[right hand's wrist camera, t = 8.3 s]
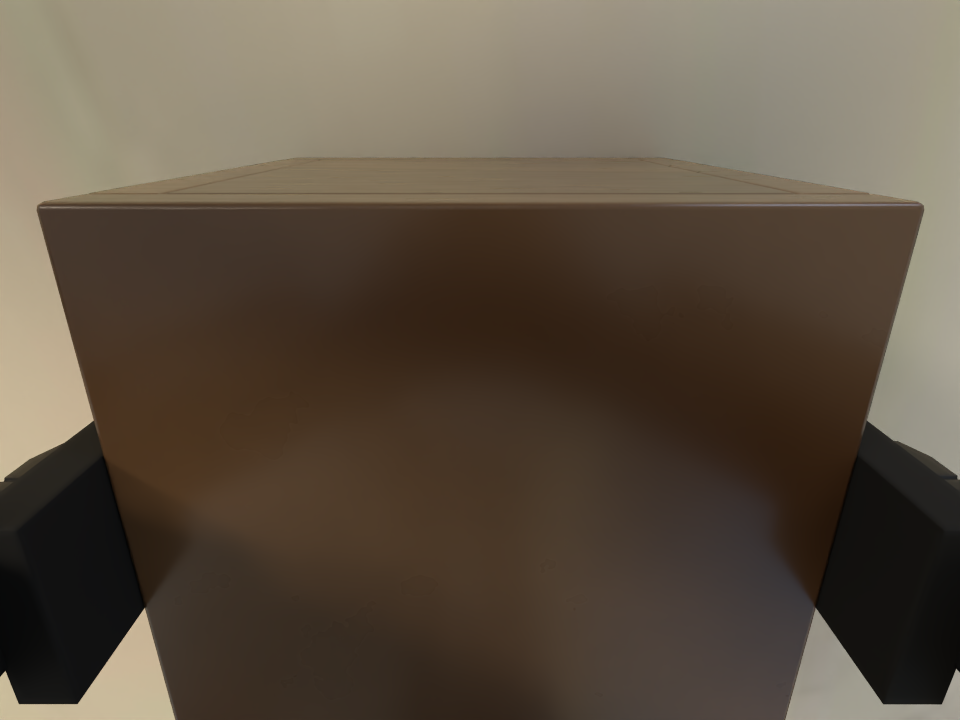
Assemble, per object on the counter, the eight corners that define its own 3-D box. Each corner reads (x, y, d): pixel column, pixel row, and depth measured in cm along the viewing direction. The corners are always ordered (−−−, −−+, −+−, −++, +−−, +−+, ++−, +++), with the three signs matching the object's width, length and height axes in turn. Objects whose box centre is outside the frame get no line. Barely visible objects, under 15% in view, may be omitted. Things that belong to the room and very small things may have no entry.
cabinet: (608, 681, 24) (695, 1054, 14) (351, 681, 24) (264, 1055, 14) (666, 157, 16) (930, 201, 7) (293, 157, 16) (30, 202, 7)
